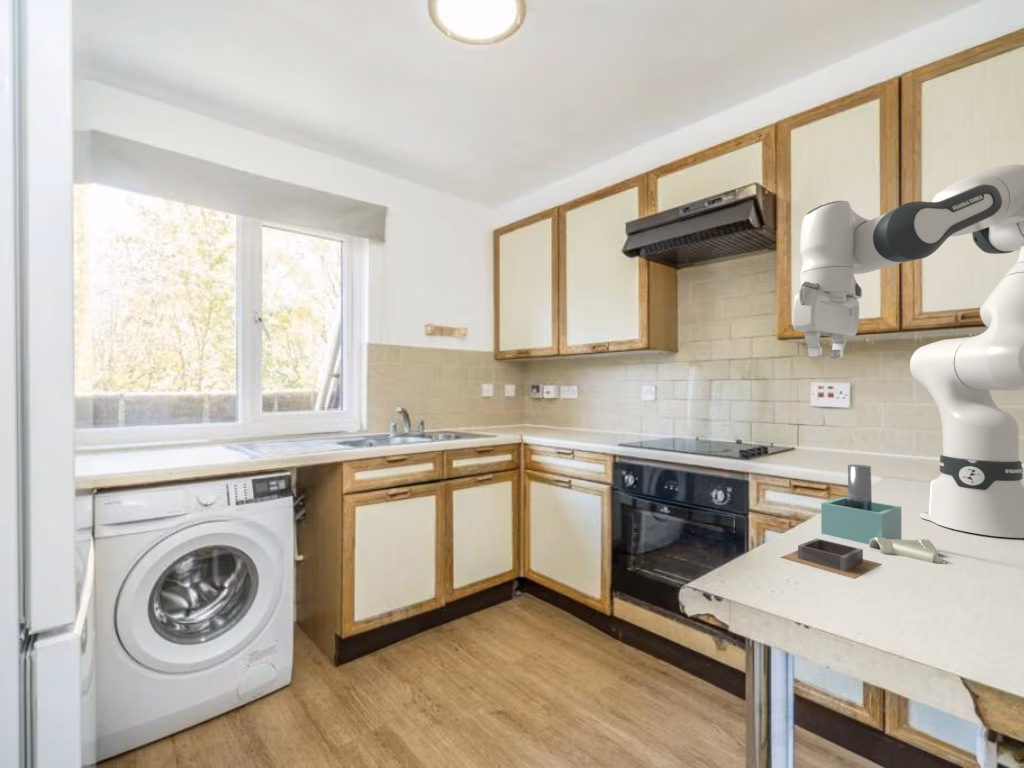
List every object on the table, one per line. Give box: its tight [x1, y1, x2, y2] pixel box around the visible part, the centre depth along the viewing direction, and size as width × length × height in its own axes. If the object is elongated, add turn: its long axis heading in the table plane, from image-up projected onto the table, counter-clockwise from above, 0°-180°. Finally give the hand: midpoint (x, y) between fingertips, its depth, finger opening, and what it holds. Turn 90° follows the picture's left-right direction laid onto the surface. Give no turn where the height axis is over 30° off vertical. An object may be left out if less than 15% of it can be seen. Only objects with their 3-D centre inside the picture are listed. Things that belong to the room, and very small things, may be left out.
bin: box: [820, 496, 902, 545], centre depth 86 cm, size 9×9×7 cm
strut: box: [847, 464, 873, 511], centre depth 86 cm, size 4×4×13 cm
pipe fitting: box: [868, 537, 947, 564], centre depth 76 cm, size 8×4×7 cm
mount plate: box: [780, 538, 882, 579], centre depth 73 cm, size 10×10×4 cm
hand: (826, 357), depth 93 cm, fingers open, 8 cm apart
